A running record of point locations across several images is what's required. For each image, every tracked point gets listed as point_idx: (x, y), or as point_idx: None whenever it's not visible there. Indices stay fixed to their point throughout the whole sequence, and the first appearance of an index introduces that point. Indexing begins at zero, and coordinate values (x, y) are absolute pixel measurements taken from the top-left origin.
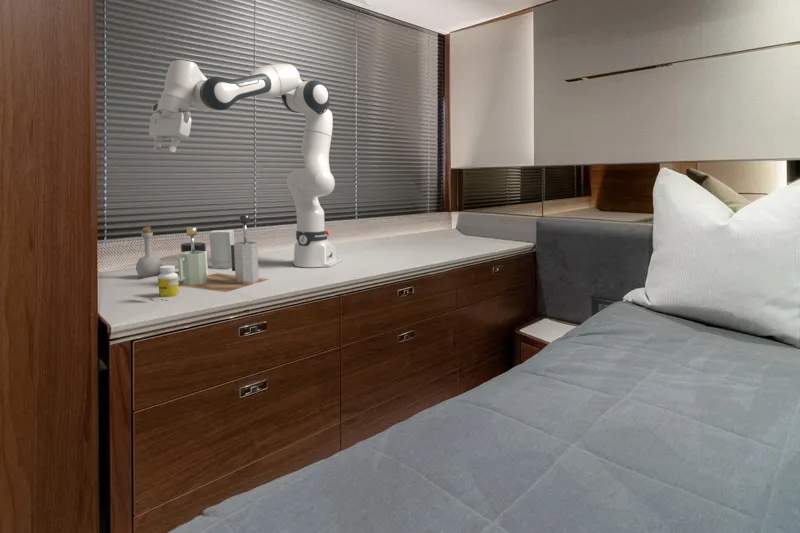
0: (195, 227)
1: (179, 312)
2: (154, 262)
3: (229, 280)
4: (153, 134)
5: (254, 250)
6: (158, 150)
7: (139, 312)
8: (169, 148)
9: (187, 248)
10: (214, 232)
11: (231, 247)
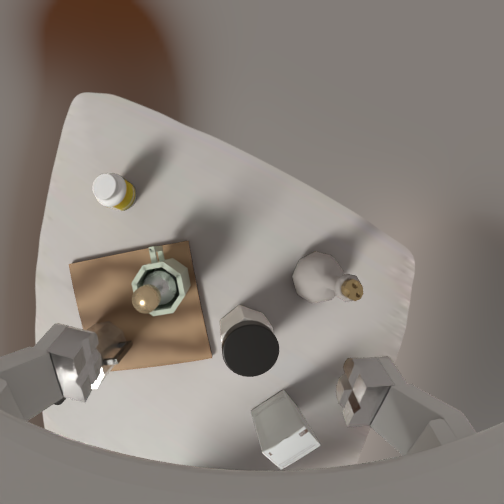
0: (140, 309)
1: (54, 165)
2: (301, 277)
3: (134, 328)
4: (490, 431)
5: None
6: (345, 378)
7: (95, 130)
8: (62, 332)
9: (236, 326)
10: (293, 433)
11: (116, 357)
